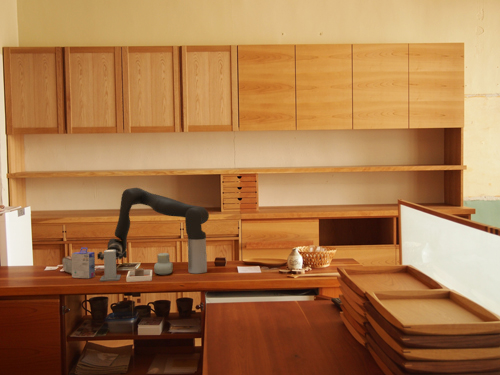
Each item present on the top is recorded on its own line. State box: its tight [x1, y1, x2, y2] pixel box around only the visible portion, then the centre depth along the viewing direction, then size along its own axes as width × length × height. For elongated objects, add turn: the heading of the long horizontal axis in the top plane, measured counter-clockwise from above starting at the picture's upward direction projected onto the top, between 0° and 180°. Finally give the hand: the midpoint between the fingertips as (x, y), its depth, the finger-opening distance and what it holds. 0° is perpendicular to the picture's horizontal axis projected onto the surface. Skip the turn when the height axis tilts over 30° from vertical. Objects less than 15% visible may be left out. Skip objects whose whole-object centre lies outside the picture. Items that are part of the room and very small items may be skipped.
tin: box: [61, 255, 72, 275], centre depth 235 cm, size 15×3×8 cm, turn 47°
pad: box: [99, 274, 122, 282], centre depth 223 cm, size 9×9×1 cm
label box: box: [103, 249, 117, 279], centre depth 222 cm, size 5×5×13 cm
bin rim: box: [125, 269, 153, 283], centre depth 224 cm, size 12×13×2 cm
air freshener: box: [153, 252, 174, 276], centre depth 231 cm, size 11×8×10 cm
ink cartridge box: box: [71, 246, 96, 279], centre depth 226 cm, size 10×6×14 cm, turn 79°
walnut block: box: [134, 267, 145, 276], centre depth 220 cm, size 4×4×5 cm
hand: (111, 257), depth 227 cm, fingers open, 8 cm apart
